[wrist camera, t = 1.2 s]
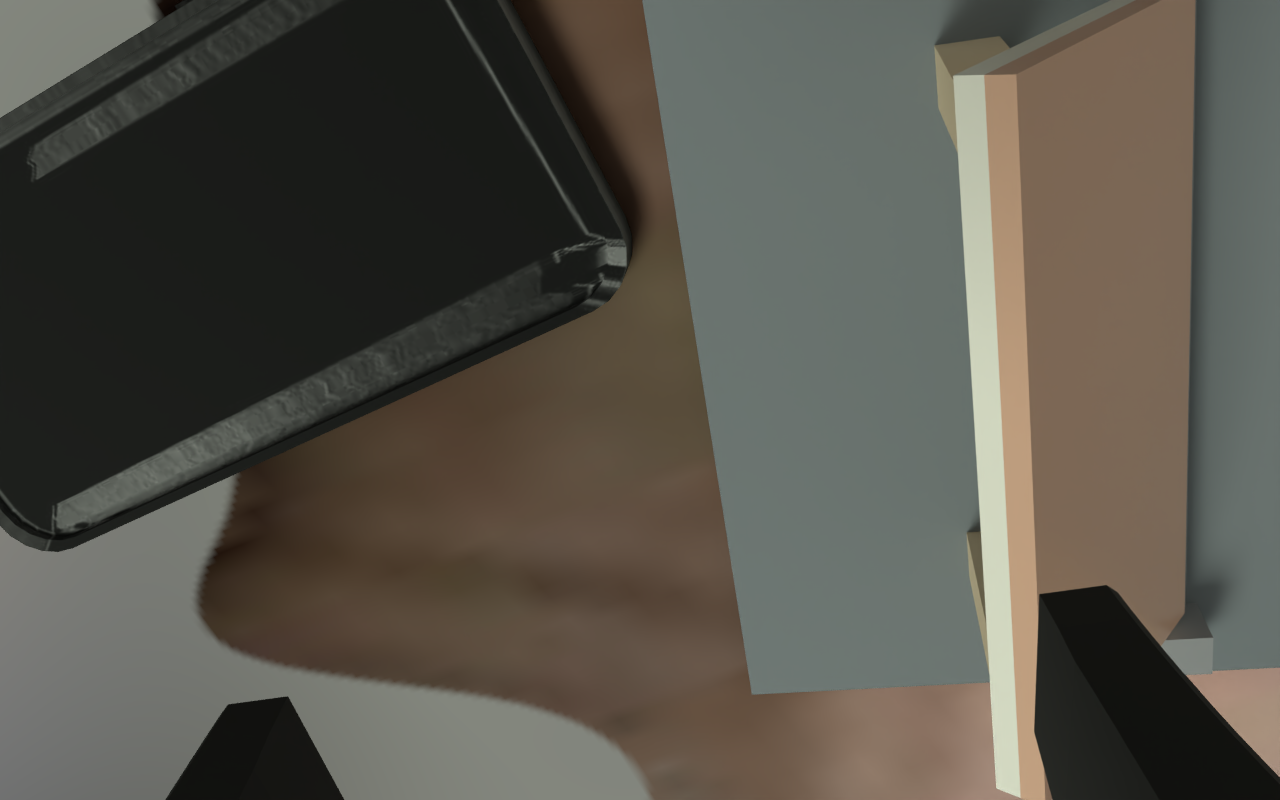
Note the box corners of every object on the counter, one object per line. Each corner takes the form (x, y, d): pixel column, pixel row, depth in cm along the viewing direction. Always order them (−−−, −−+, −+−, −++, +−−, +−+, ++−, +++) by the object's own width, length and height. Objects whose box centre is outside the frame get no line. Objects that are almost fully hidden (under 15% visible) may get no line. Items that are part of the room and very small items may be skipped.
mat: (1607, 629, 23) (1746, 772, 19) (753, 676, 26) (743, 806, 22) (1774, -272, 17) (2019, -296, 13) (635, -77, 20) (598, -56, 16)
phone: (650, 285, 22) (31, 567, 26) (657, 264, 23) (60, 539, 27) (417, -148, 19) (-225, 248, 24) (437, -150, 20) (-183, 230, 25)
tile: (1152, 589, 23) (1196, 601, 23) (996, 792, 19) (1045, 812, 19) (1155, -28, 19) (1210, -32, 18) (952, 67, 15) (1015, 65, 14)
